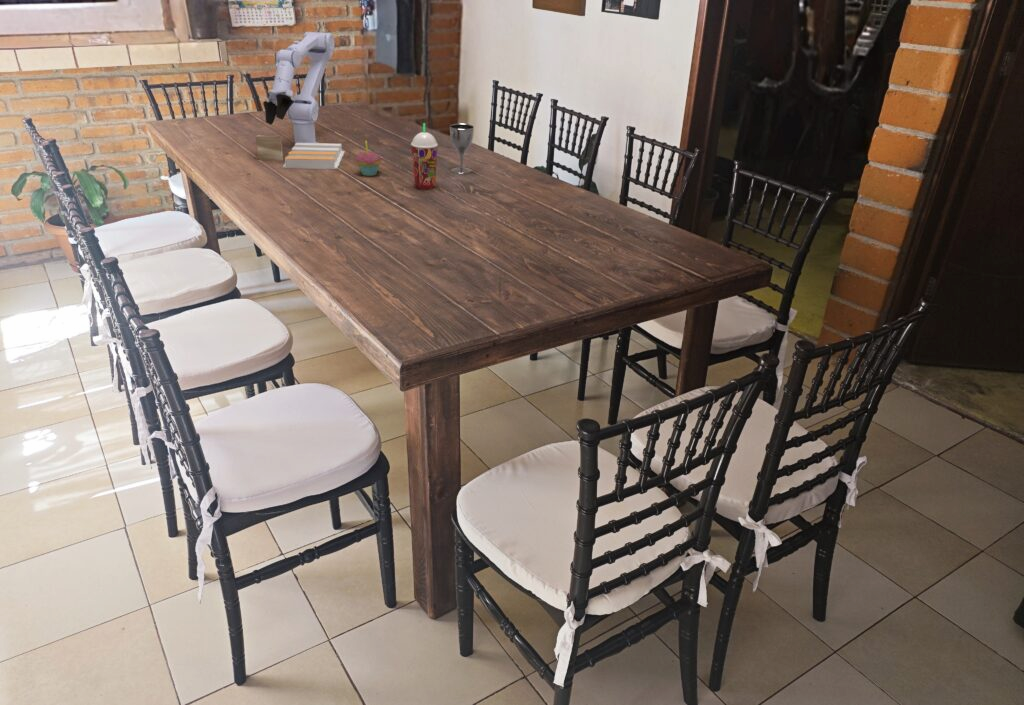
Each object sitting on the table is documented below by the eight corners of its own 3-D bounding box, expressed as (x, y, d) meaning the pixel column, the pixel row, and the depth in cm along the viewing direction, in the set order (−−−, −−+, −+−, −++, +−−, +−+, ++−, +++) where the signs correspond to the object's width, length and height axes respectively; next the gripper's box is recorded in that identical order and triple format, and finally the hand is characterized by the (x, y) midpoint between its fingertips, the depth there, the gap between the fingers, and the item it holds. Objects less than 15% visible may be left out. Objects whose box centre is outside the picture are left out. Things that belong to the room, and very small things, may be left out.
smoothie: (433, 191, 238) (433, 127, 228) (408, 189, 239) (406, 125, 229) (441, 184, 245) (440, 121, 235) (416, 181, 246) (415, 119, 236)
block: (260, 158, 262) (257, 135, 258) (283, 158, 263) (281, 135, 259) (258, 159, 260) (255, 136, 256) (282, 160, 261) (279, 137, 257)
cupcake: (379, 178, 248) (377, 141, 242) (353, 176, 248) (351, 140, 242) (383, 170, 255) (382, 135, 249) (358, 169, 255) (356, 133, 249)
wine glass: (474, 168, 262) (475, 124, 255) (471, 174, 256) (471, 129, 248) (452, 166, 263) (452, 122, 256) (448, 172, 256) (448, 128, 249)
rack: (294, 151, 271) (293, 142, 270) (344, 152, 273) (344, 143, 271) (282, 168, 253) (281, 158, 251) (337, 169, 254) (336, 159, 252)
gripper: (262, 83, 257) (253, 120, 255) (282, 72, 246) (273, 110, 244) (280, 92, 262) (272, 129, 259) (301, 82, 251) (292, 119, 249)
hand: (274, 120), depth 252 cm, fingers open, 7 cm apart
